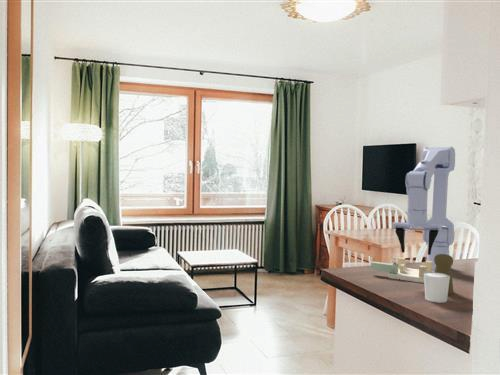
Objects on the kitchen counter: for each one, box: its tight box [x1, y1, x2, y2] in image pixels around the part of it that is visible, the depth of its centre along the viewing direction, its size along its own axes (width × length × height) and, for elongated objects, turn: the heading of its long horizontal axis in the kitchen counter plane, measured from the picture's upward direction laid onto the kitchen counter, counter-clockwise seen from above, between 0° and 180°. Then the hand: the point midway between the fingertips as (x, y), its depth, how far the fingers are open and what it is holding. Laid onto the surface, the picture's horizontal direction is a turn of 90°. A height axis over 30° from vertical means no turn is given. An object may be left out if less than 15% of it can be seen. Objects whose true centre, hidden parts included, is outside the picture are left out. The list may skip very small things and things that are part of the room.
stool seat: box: [388, 257, 435, 284], centre depth 152 cm, size 12×12×5 cm
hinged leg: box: [370, 261, 398, 273], centre depth 153 cm, size 9×2×3 cm, turn 57°
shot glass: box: [423, 271, 450, 304], centre depth 126 cm, size 7×7×7 cm
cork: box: [434, 254, 454, 295], centre depth 135 cm, size 6×6×11 cm
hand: (416, 253), depth 142 cm, fingers open, 7 cm apart
